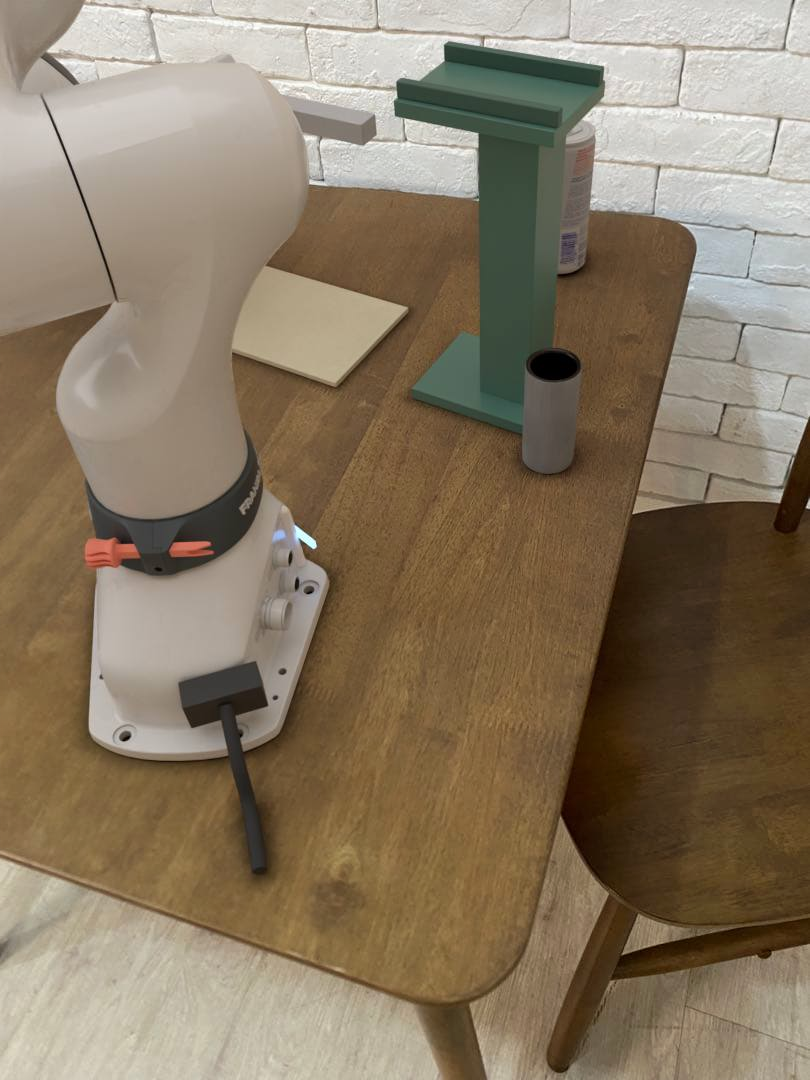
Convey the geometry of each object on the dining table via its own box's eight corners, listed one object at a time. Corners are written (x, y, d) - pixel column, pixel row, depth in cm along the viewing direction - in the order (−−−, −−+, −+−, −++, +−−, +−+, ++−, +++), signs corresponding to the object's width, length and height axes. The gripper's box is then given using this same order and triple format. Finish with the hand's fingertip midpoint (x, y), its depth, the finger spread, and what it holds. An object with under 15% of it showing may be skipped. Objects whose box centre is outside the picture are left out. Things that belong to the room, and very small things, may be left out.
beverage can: (584, 249, 105) (595, 115, 94) (585, 277, 102) (597, 141, 90) (534, 249, 106) (539, 116, 95) (533, 277, 102) (539, 142, 91)
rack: (580, 376, 90) (610, 60, 69) (535, 439, 85) (552, 117, 63) (461, 341, 95) (454, 35, 74) (412, 398, 90) (388, 86, 68)
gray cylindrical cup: (513, 466, 83) (516, 373, 75) (533, 434, 85) (538, 341, 78) (561, 480, 81) (569, 387, 74) (580, 448, 84) (590, 354, 76)
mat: (408, 312, 99) (408, 307, 99) (336, 387, 92) (335, 383, 91) (231, 259, 109) (230, 255, 108) (151, 324, 101) (150, 320, 100)
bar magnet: (377, 134, 79) (376, 113, 78) (362, 146, 78) (360, 125, 76) (186, 92, 87) (181, 72, 86) (169, 103, 86) (164, 83, 84)
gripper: (32, 156, 87) (105, 103, 77) (174, 70, 98) (254, 14, 88) (76, 218, 89) (152, 174, 80) (209, 127, 101) (290, 79, 91)
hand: (206, 89), depth 84 cm, fingers closed on bar magnet, 2 cm apart
